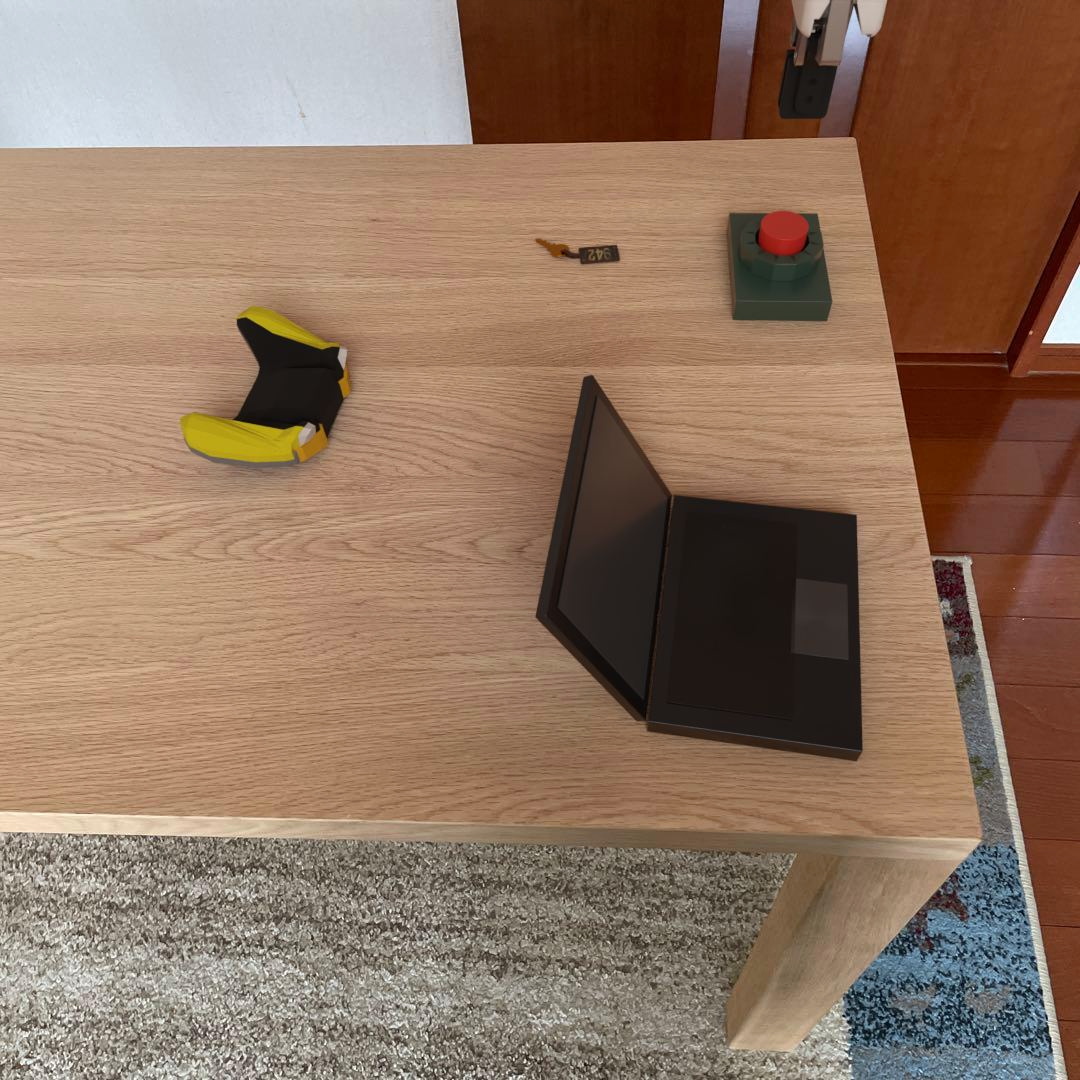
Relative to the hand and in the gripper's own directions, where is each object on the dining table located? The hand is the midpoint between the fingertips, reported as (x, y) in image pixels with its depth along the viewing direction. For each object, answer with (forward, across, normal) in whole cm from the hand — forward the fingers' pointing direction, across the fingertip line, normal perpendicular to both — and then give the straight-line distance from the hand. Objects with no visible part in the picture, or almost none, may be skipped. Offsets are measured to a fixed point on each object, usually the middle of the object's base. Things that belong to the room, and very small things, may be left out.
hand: (801, 111), depth 65 cm
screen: (+11, -29, +12) cm, 33 cm away
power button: (+15, +6, -2) cm, 17 cm away
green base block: (+19, +6, -2) cm, 20 cm away
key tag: (+19, +9, +16) cm, 26 cm away
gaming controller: (+19, -12, +39) cm, 45 cm away
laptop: (+19, -30, +3) cm, 36 cm away
